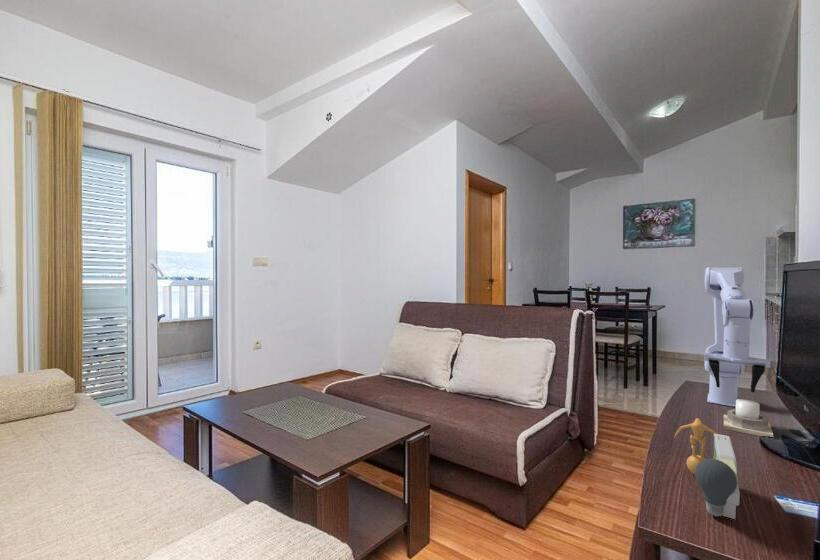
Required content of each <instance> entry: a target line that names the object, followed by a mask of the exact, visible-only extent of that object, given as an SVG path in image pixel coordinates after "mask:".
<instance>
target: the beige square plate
mask: <svg viewBox="0 0 820 560" xmlns="http://www.w3.org/2000/svg"><path fill="white" fill-rule="evenodd" d="M735 412H736V408H732V409H728V410H727V412H726V413H727V414H723V429H724V430H728V431H732V432H737V433H743V434H747V435H748V434H749V435H753V436H758V437H762V436H770V437H773V438H774V433H773V430H772V427H771V424H770V422H769V418H768V416H766V415H764V414H762V413H759V420H755V419H747V418H742V417H739V416H736V415H735Z"/></svg>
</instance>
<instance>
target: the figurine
mask: <svg viewBox="0 0 820 560" xmlns="http://www.w3.org/2000/svg"><path fill="white" fill-rule="evenodd" d="M690 428H691V430H692V433H693V434H691V435H690V436H689V438H690V441H689V442H690V444H691V450H692V454H691V455H690V456H688V457H687V459H686V466H687V469H688V470H689V472H690V473H692V474H694V475H695V468H696V466H697V465H698V464H699V463H700V462H701V461H703V460H705V459H706V458H705V457H704V452H705V450H706V449H705V446H706V441H707V438H706V436H703V435H704V432H705V431H707V432H709V433H711V434H712V435H714V434H718V433H717V432H716V431H714V430H713V429H711V428H710V427H708V426H707V425H705V424H703V423H702V421H701V419H700V418H699V417H698V418H697V417H696V418H695V419H694V421H693V422H692V423H688V424H685V425H681V426H679V427H678V429H677V430H676V432H675V434H674V439H675V438H677V436H678V434H680V432H681V431H682V430H684V429H690ZM697 442H699V444H700V445H701V447H700V455H698V454H696V447H695V444H696V443H697Z"/></svg>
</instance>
